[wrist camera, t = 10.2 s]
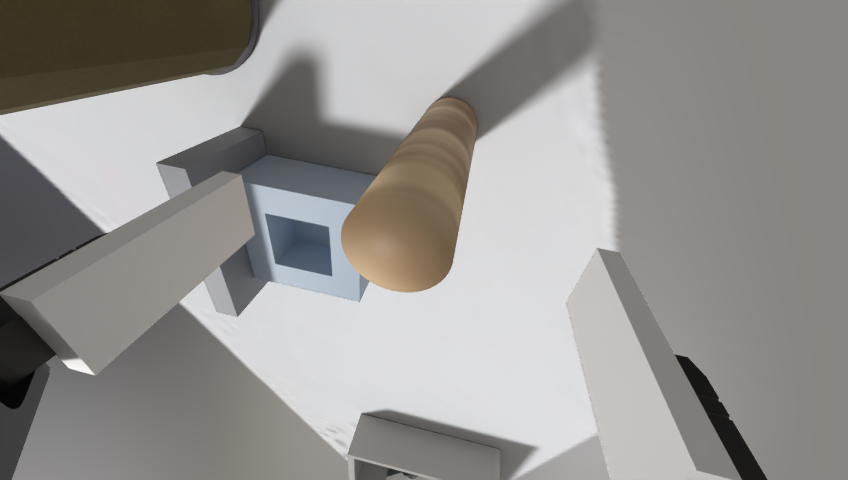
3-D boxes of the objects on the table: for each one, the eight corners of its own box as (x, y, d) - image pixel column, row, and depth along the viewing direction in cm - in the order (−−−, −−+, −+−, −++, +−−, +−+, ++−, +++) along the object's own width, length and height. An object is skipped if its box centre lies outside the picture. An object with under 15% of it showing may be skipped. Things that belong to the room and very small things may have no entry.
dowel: (426, 92, 22) (338, 186, 10) (483, 102, 22) (464, 213, 10) (419, 148, 24) (342, 278, 12) (470, 158, 24) (443, 302, 12)
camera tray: (361, 413, 52) (347, 454, 47) (500, 449, 50) (500, 495, 45) (361, 452, 61) (349, 489, 57) (477, 483, 60) (476, 524, 55)
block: (267, 154, 27) (227, 178, 23) (380, 176, 26) (359, 205, 22) (284, 246, 33) (254, 278, 29) (376, 266, 32) (359, 301, 28)
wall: (239, 126, 26) (155, 163, 20) (262, 130, 26) (185, 169, 19) (268, 256, 34) (216, 311, 28) (286, 260, 34) (237, 316, 28)
